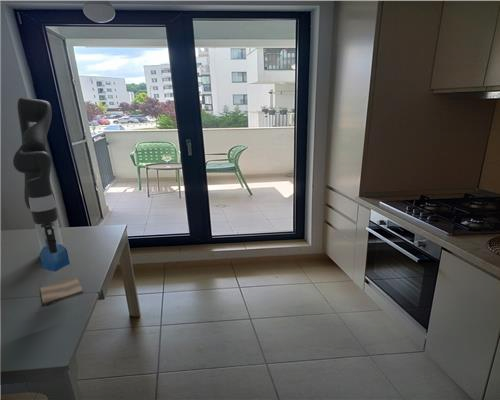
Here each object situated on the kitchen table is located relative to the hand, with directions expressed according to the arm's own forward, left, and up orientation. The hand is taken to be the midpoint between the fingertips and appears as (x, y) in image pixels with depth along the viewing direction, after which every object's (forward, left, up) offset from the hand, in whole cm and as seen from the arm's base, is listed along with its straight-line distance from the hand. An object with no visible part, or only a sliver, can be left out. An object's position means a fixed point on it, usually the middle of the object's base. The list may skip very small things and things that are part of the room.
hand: (52, 249), depth 111 cm
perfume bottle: (0, 0, -7) cm, 7 cm away
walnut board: (0, 0, -18) cm, 18 cm away
